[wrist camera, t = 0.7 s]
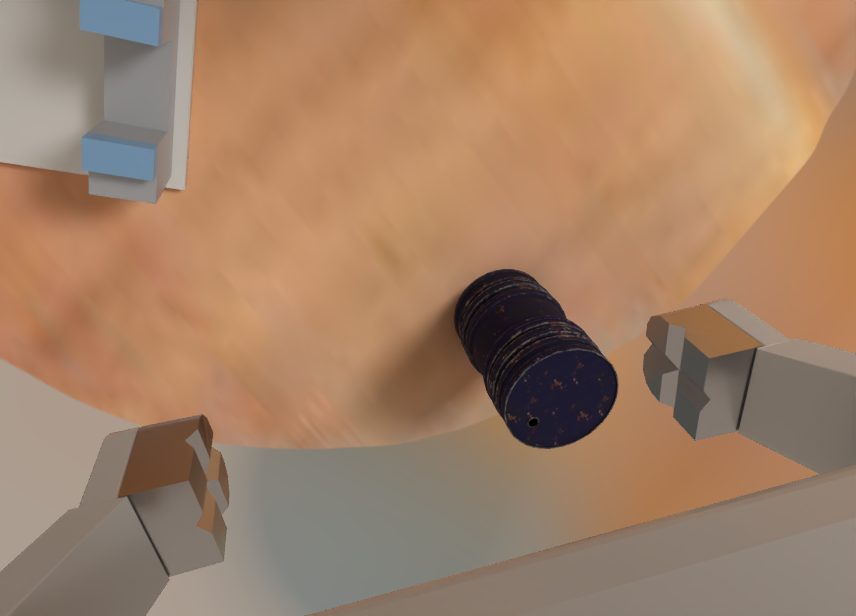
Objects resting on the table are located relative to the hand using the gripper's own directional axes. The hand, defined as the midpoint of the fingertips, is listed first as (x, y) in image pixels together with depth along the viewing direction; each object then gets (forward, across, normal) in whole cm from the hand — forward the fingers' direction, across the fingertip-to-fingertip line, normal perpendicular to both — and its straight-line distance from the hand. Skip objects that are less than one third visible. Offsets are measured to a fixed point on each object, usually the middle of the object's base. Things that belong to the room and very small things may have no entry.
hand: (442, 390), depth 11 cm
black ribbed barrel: (+41, -14, +25) cm, 49 cm away
